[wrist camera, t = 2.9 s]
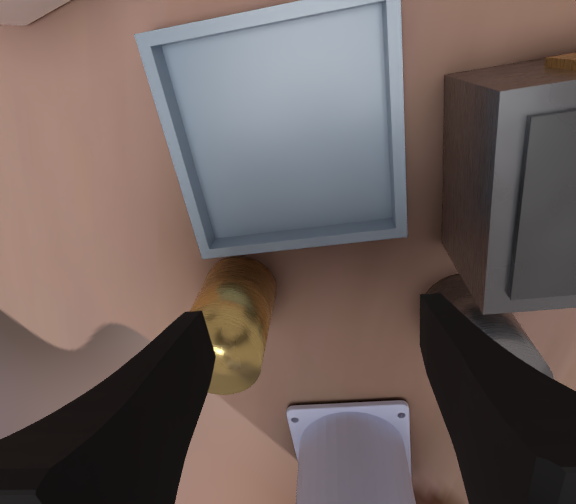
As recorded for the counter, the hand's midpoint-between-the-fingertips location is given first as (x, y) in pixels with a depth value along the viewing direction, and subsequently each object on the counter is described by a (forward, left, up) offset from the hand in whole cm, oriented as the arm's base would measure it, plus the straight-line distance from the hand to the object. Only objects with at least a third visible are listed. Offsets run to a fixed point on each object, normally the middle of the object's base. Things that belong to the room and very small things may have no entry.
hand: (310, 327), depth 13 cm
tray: (+5, +1, -8) cm, 10 cm away
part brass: (-3, +5, -8) cm, 10 cm away
